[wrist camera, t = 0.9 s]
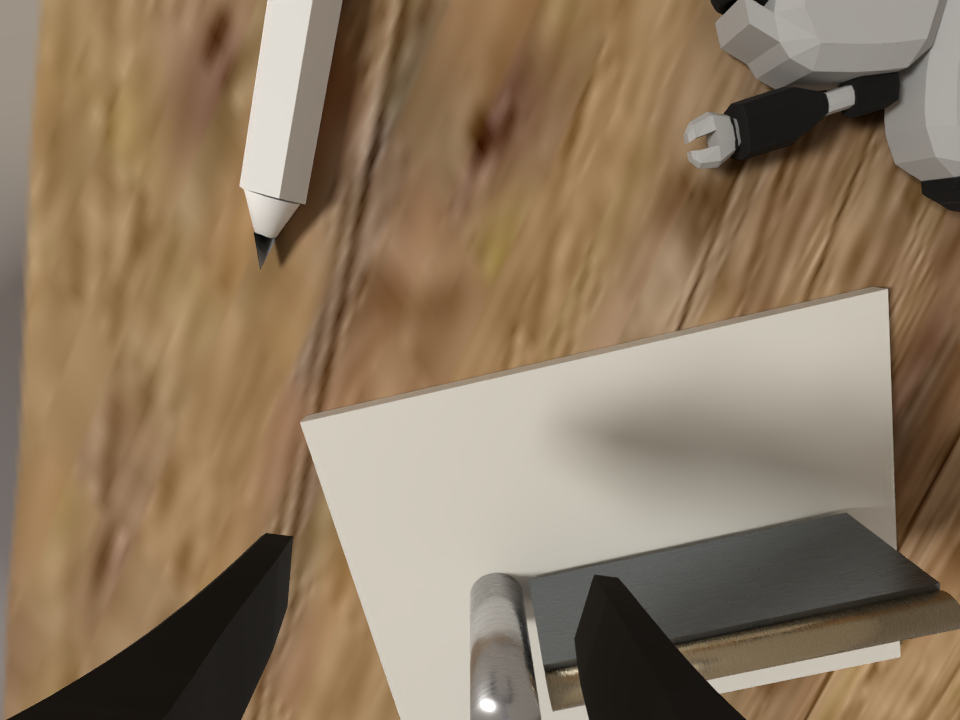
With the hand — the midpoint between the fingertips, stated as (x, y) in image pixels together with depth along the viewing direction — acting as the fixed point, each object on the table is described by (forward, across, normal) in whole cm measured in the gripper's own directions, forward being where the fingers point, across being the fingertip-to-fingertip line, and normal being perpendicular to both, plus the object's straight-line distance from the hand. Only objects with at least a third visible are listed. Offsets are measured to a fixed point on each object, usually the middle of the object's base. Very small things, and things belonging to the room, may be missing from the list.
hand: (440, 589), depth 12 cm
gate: (+9, -11, +5) cm, 15 cm away
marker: (+12, +7, -12) cm, 19 cm away
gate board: (+10, -9, +5) cm, 14 cm away
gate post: (+10, -4, +8) cm, 13 cm away
